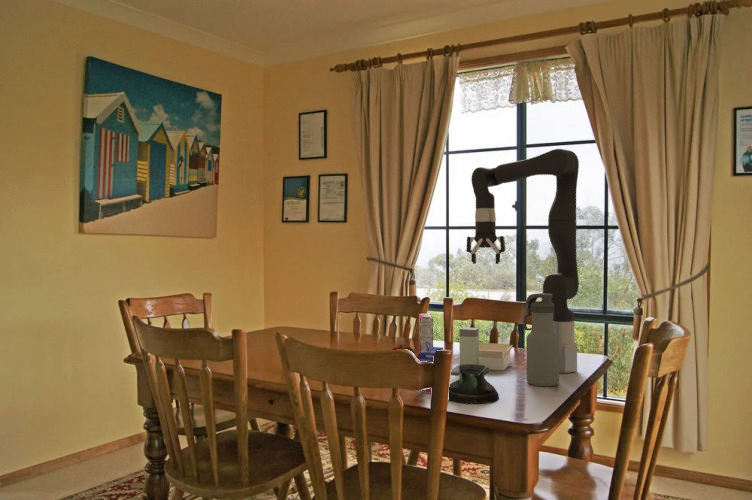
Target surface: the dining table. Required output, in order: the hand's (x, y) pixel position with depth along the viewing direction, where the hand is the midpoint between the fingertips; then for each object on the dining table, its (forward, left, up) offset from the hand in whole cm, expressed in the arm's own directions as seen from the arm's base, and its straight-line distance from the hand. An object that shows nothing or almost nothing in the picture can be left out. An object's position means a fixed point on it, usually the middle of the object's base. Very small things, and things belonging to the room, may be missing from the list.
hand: (485, 263), depth 229 cm
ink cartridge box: (-26, +46, -36) cm, 64 cm away
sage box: (-14, +21, -35) cm, 43 cm away
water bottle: (-39, +13, -36) cm, 55 cm away
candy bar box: (+14, +18, -36) cm, 43 cm away
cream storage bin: (-10, +8, -36) cm, 38 cm away
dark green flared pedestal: (-39, +42, -36) cm, 68 cm away
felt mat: (-14, +21, -36) cm, 44 cm away
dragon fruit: (+8, +34, -36) cm, 50 cm away
